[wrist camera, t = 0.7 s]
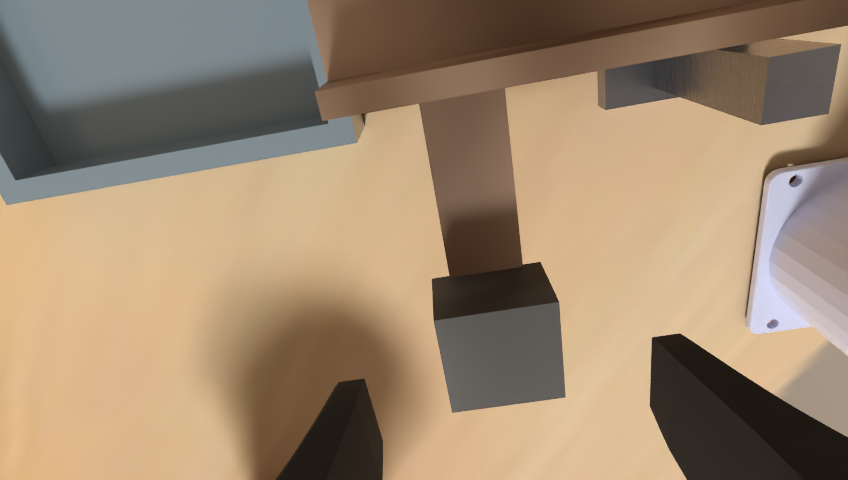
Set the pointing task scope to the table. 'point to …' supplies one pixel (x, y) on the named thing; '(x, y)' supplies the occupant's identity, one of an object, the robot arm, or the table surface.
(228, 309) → the table surface
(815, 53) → the chute stand
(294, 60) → the tray
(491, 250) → the chute
